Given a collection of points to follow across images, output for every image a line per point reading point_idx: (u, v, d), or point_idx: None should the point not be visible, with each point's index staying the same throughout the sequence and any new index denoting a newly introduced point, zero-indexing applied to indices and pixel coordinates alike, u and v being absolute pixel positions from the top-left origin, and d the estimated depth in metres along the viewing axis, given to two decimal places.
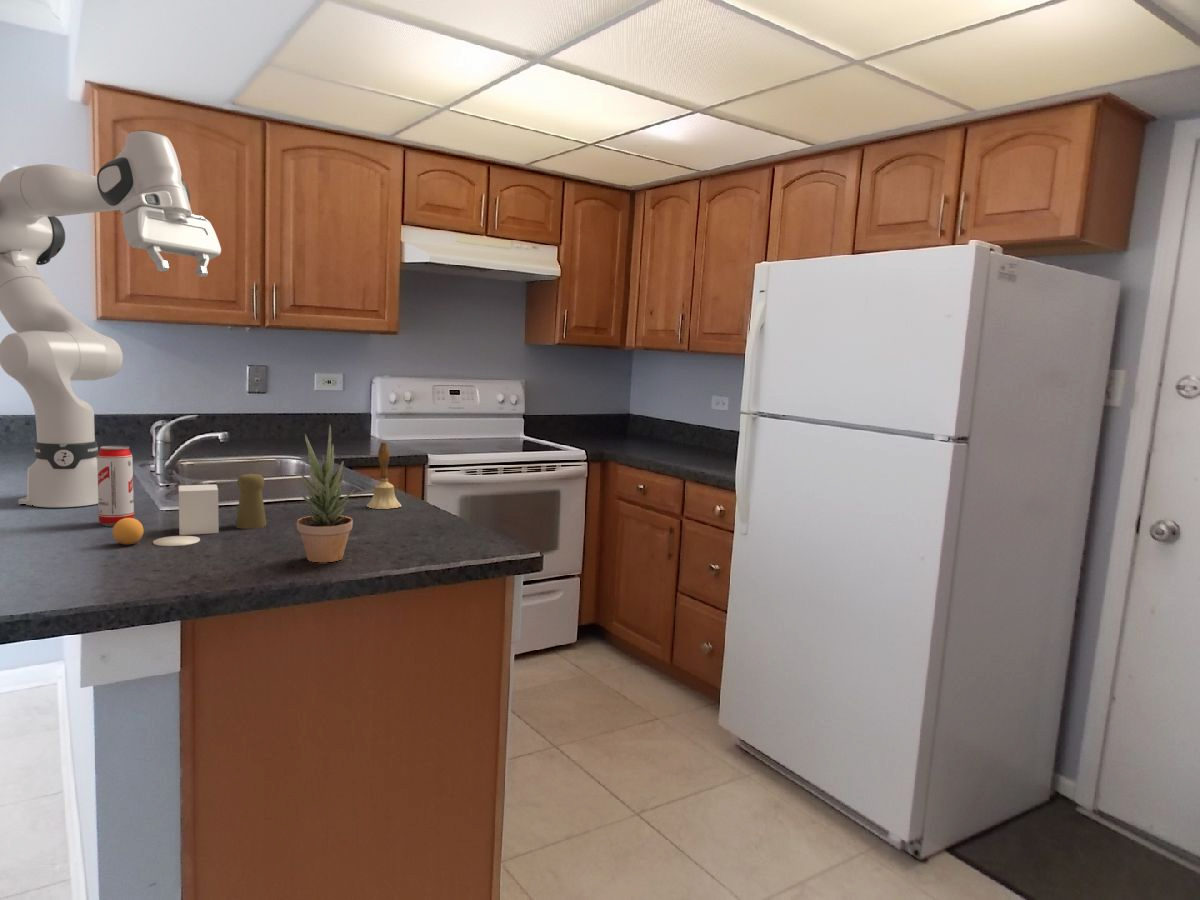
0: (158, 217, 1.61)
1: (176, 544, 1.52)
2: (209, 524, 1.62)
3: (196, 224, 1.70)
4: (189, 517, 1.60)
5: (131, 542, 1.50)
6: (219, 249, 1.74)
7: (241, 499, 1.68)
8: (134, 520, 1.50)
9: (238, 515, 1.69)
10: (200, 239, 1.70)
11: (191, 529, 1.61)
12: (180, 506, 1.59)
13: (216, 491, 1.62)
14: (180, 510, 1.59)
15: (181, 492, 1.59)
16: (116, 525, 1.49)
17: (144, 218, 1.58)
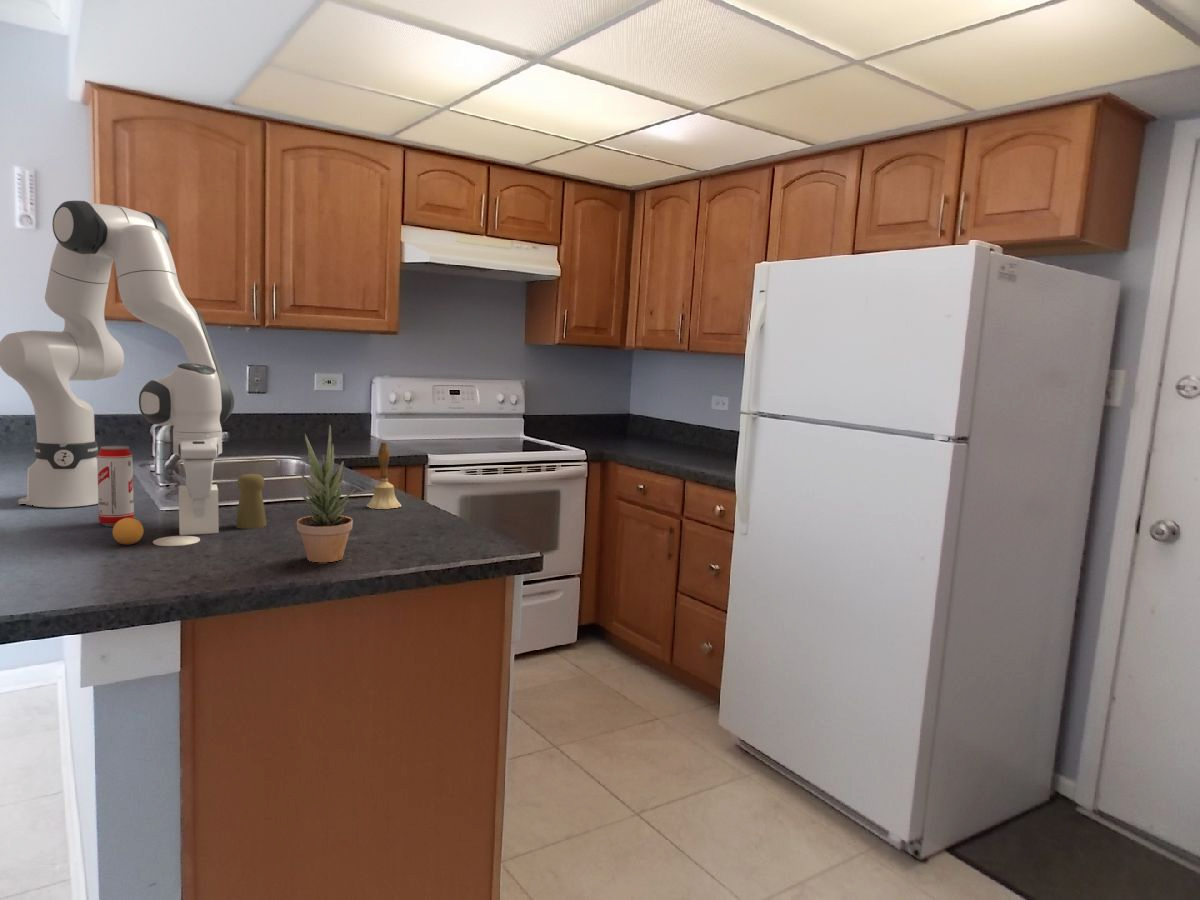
0: None
1: (176, 544, 1.52)
2: (209, 524, 1.62)
3: None
4: (189, 517, 1.60)
5: (131, 542, 1.50)
6: None
7: (241, 499, 1.68)
8: (134, 520, 1.50)
9: (238, 515, 1.69)
10: None
11: (191, 529, 1.61)
12: (180, 506, 1.59)
13: (216, 491, 1.62)
14: (180, 510, 1.59)
15: (181, 492, 1.59)
16: (116, 525, 1.49)
17: None
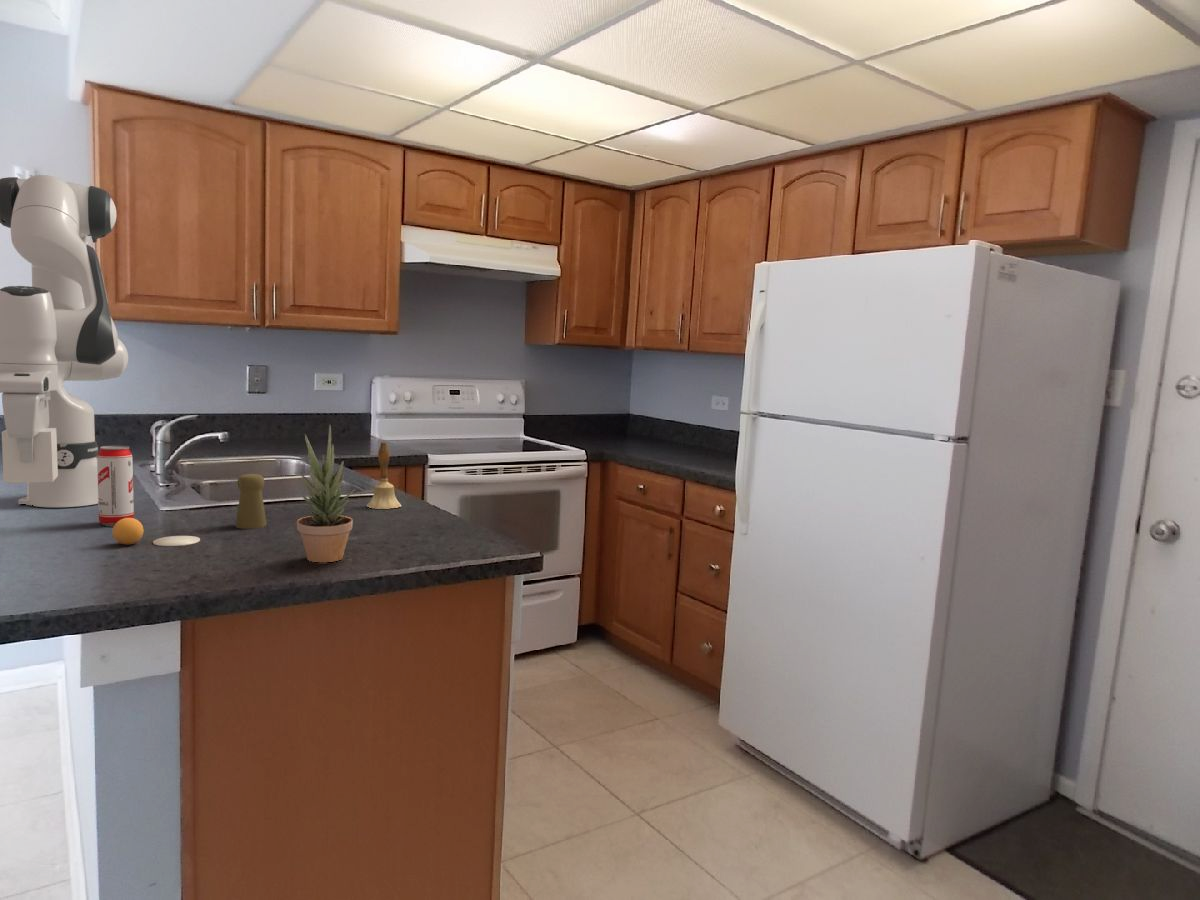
0: None
1: (176, 544, 1.52)
2: (41, 472, 1.40)
3: None
4: (15, 462, 1.38)
5: (131, 542, 1.50)
6: (49, 421, 1.51)
7: (241, 499, 1.68)
8: (134, 520, 1.50)
9: (238, 515, 1.69)
10: (45, 414, 1.47)
11: (18, 476, 1.39)
12: (4, 449, 1.38)
13: (48, 433, 1.40)
14: (4, 454, 1.38)
15: (4, 433, 1.37)
16: (116, 525, 1.49)
17: None
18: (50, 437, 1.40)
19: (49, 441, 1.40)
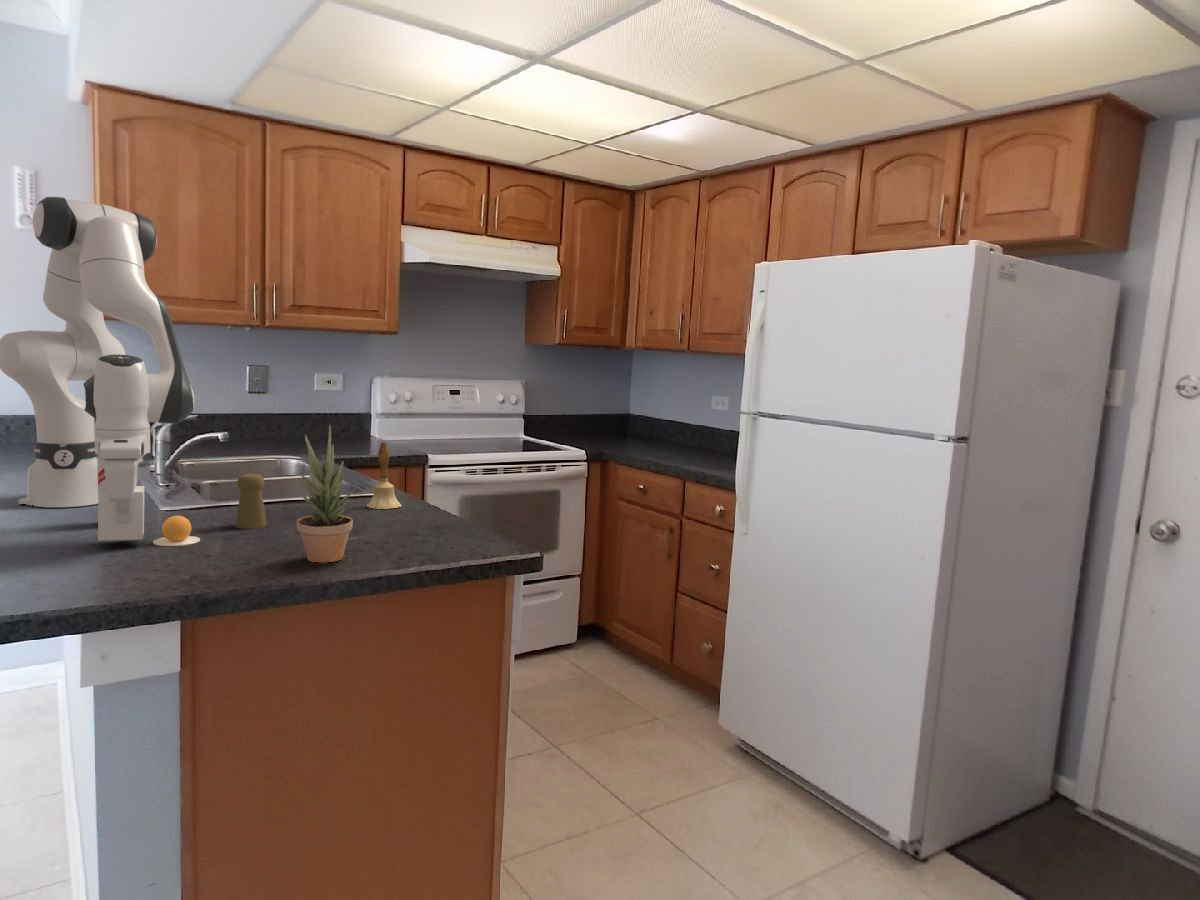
0: None
1: (176, 544, 1.52)
2: (132, 530, 1.48)
3: None
4: (109, 521, 1.46)
5: (173, 520, 1.53)
6: None
7: (241, 499, 1.68)
8: None
9: (238, 515, 1.69)
10: None
11: (111, 534, 1.47)
12: (99, 509, 1.45)
13: (141, 493, 1.48)
14: (99, 513, 1.45)
15: (101, 493, 1.45)
16: (186, 536, 1.55)
17: None
18: (142, 497, 1.48)
19: (141, 501, 1.48)
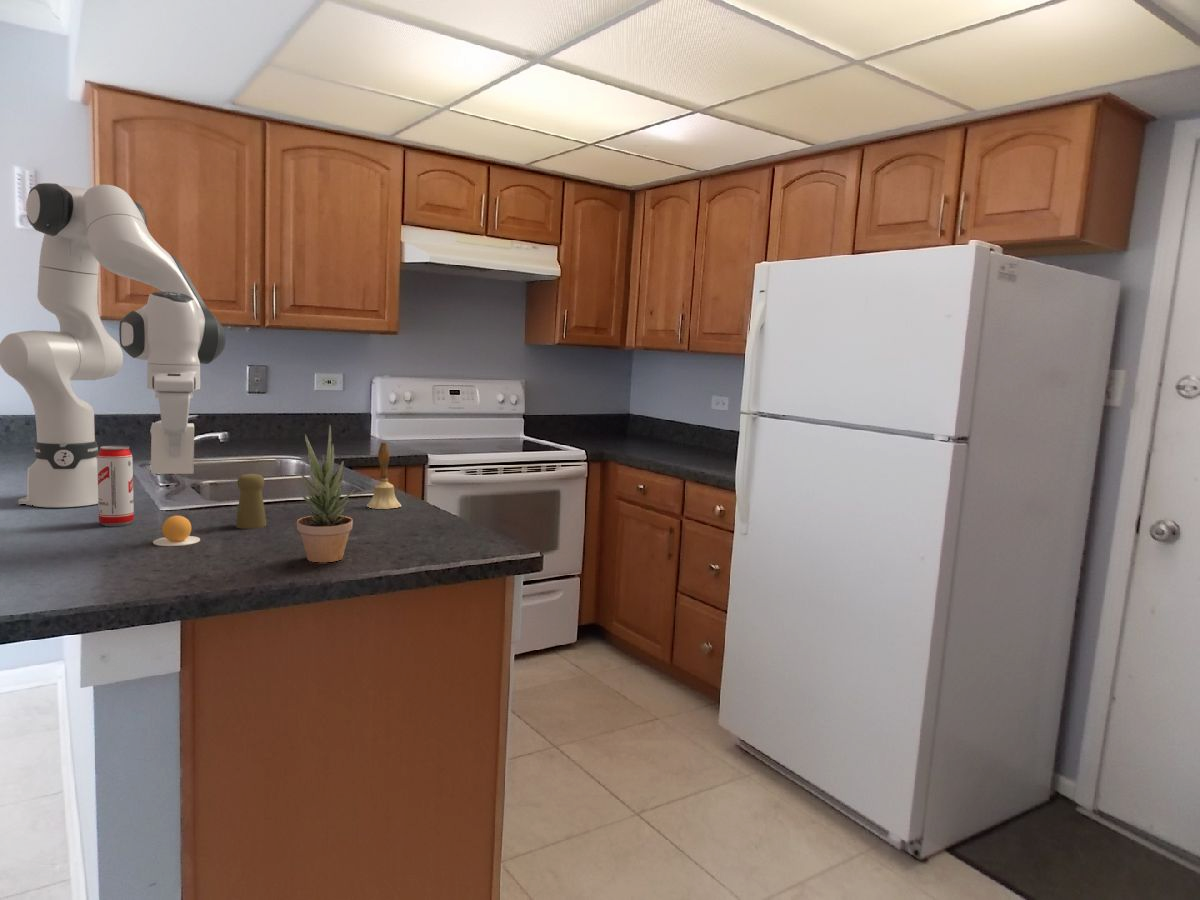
0: None
1: (176, 544, 1.52)
2: (183, 464, 1.51)
3: None
4: (162, 454, 1.49)
5: (173, 520, 1.53)
6: None
7: (241, 499, 1.68)
8: None
9: (238, 515, 1.69)
10: None
11: (164, 468, 1.49)
12: (152, 442, 1.48)
13: (192, 428, 1.51)
14: (152, 446, 1.48)
15: (154, 427, 1.48)
16: (186, 536, 1.55)
17: None
18: (193, 432, 1.51)
19: (192, 436, 1.51)
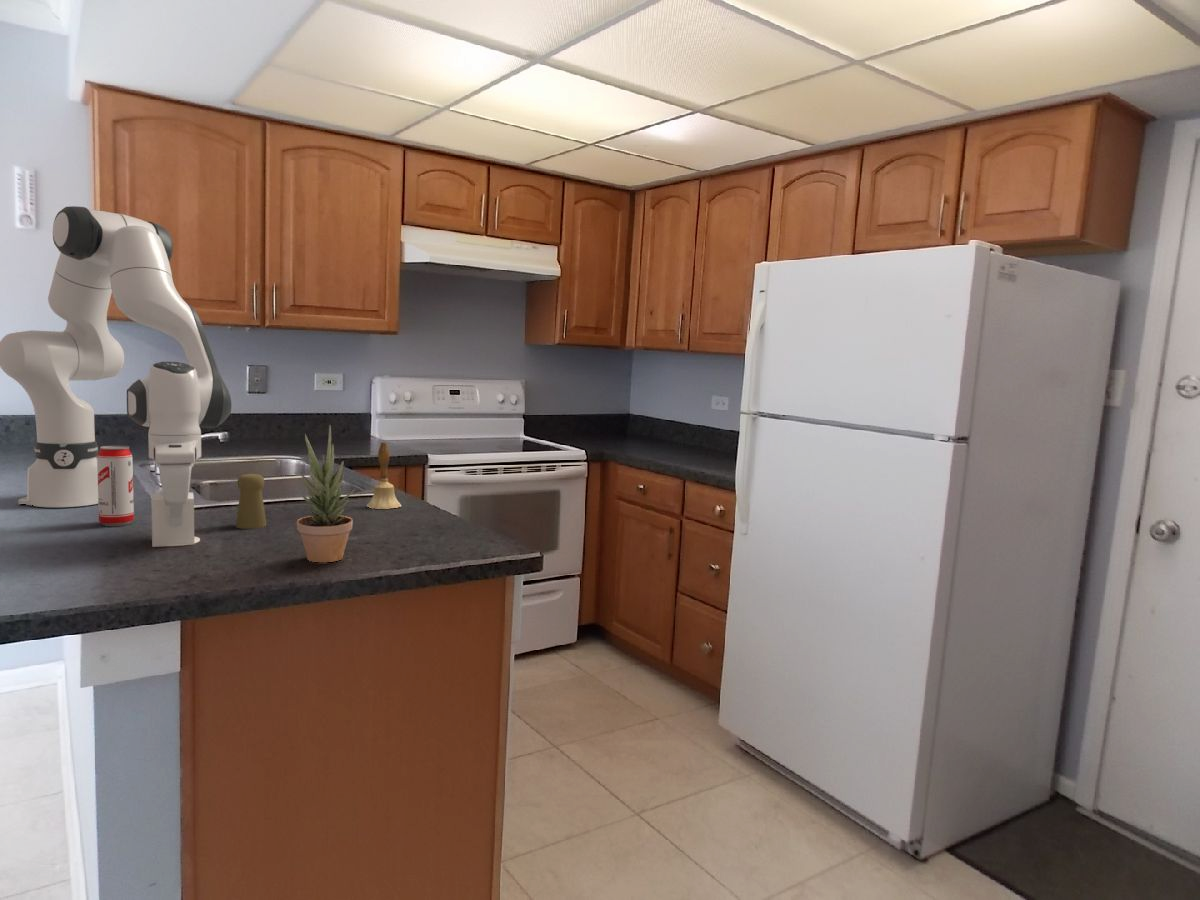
0: None
1: (176, 544, 1.52)
2: (184, 535, 1.52)
3: None
4: (163, 527, 1.50)
5: None
6: None
7: (241, 499, 1.68)
8: None
9: (238, 515, 1.69)
10: None
11: (165, 540, 1.51)
12: (153, 516, 1.49)
13: (192, 500, 1.52)
14: (153, 520, 1.49)
15: (154, 501, 1.49)
16: None
17: None
18: (193, 503, 1.52)
19: (192, 507, 1.52)
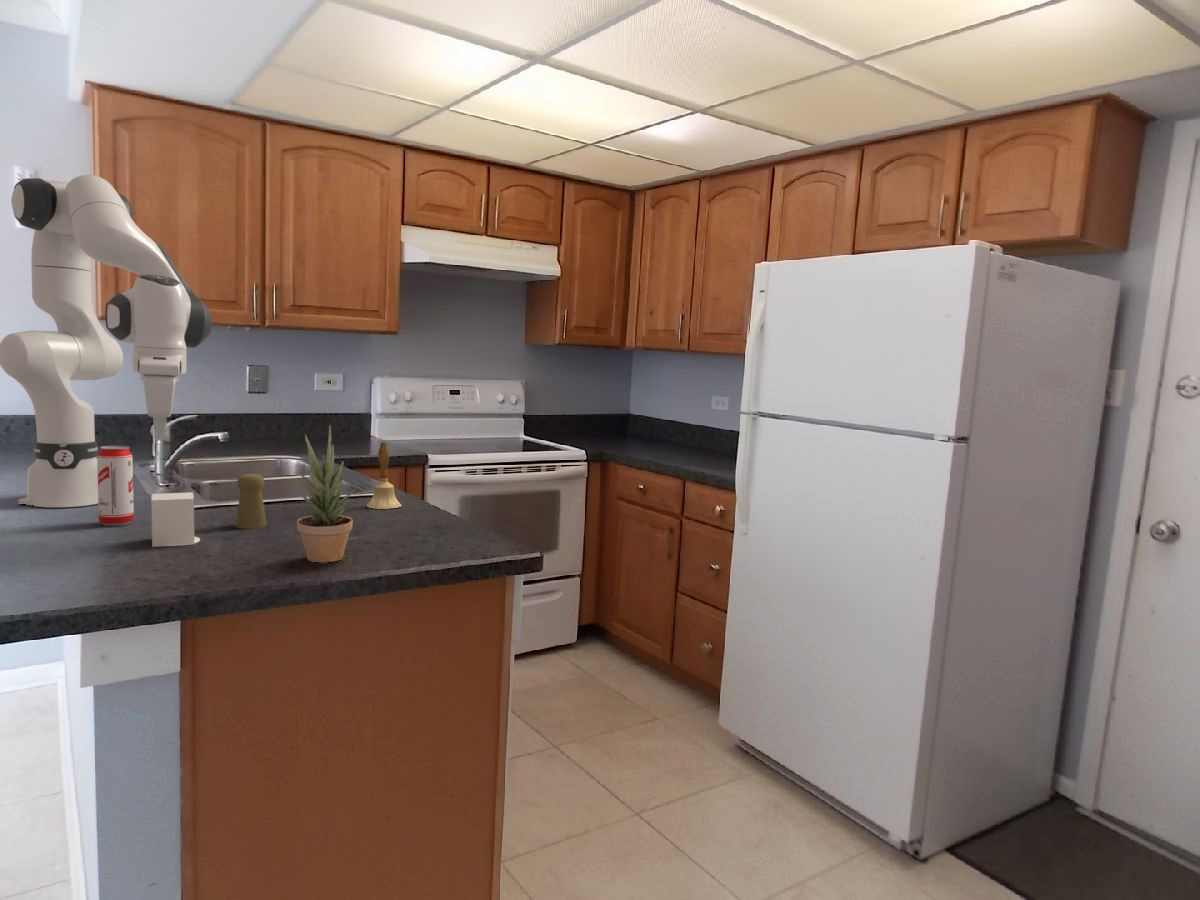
0: None
1: (176, 544, 1.52)
2: (184, 535, 1.52)
3: None
4: (163, 527, 1.50)
5: None
6: None
7: (241, 499, 1.68)
8: None
9: (238, 515, 1.69)
10: None
11: (165, 540, 1.51)
12: (153, 516, 1.49)
13: (192, 500, 1.52)
14: (153, 520, 1.49)
15: (154, 501, 1.49)
16: None
17: None
18: (193, 503, 1.52)
19: (192, 507, 1.52)
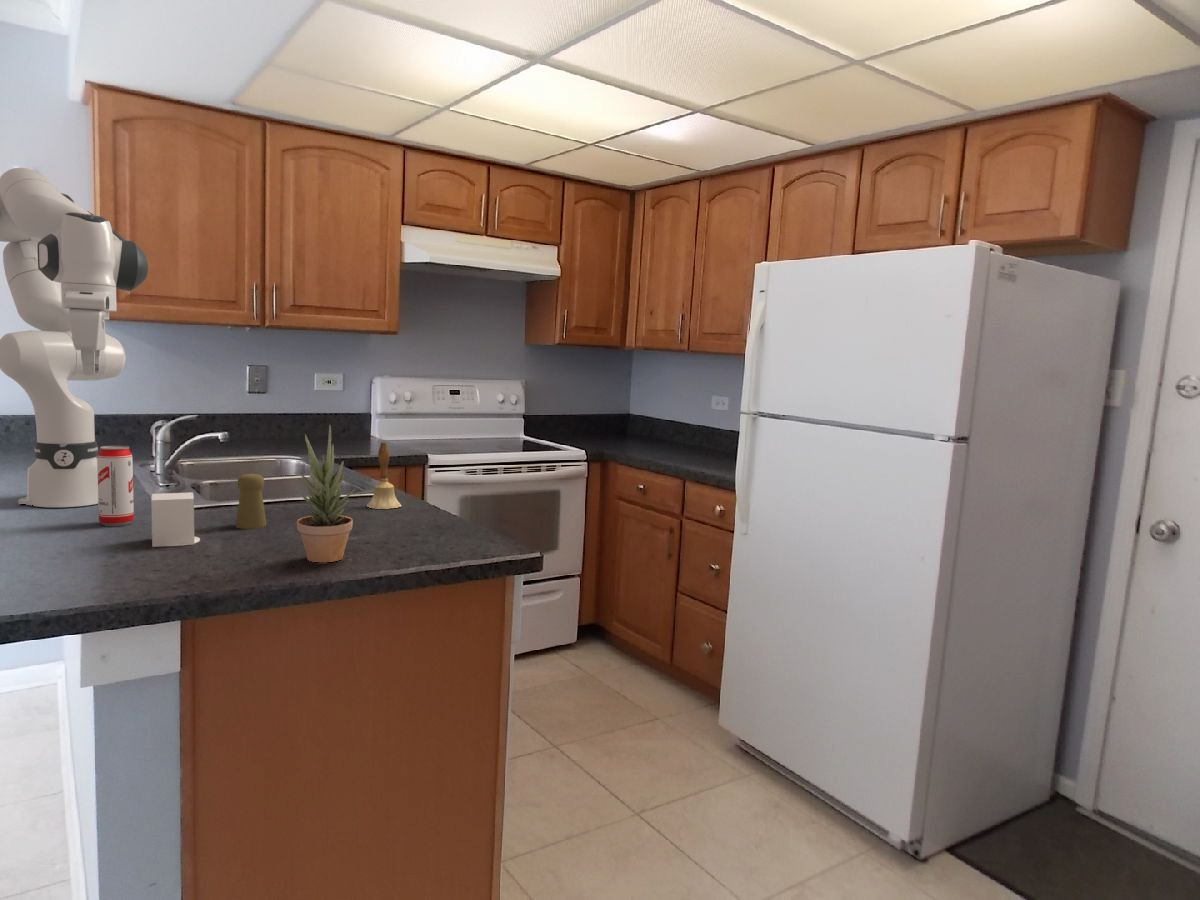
0: None
1: (176, 544, 1.52)
2: (184, 535, 1.52)
3: None
4: (163, 527, 1.50)
5: None
6: (105, 343, 1.63)
7: (241, 499, 1.68)
8: None
9: (238, 515, 1.69)
10: (103, 335, 1.59)
11: (165, 540, 1.51)
12: (153, 516, 1.49)
13: (192, 500, 1.52)
14: (153, 520, 1.49)
15: (154, 501, 1.49)
16: None
17: None
18: (193, 503, 1.52)
19: (192, 507, 1.52)
